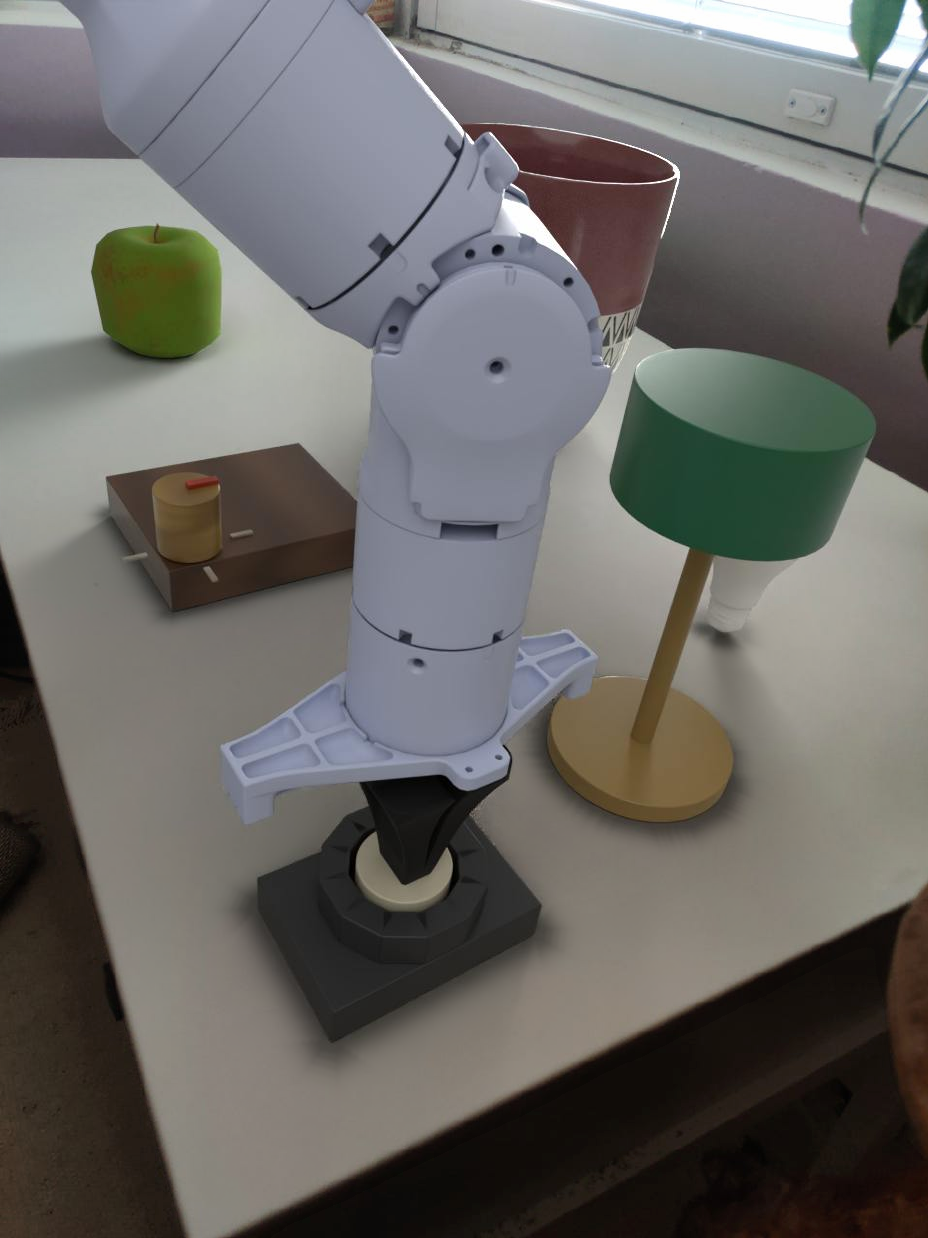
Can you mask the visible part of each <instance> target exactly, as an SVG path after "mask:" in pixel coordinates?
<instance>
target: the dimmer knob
mask: <svg viewBox="0 0 928 1238" xmlns="http://www.w3.org/2000/svg"><path fill="white" fill-rule="evenodd" d="M152 498H153V509H154V520H155V531H156V542H157V549H158V551H159V553H160V554H161V555H162V556H164V557H165V558H167V559H169V560H172V561H175V562H180V563H196V562H202V561H206V560H208V559H211V558H213V557H214V556H216V555H217V554H218V553H219V552H220V550H221V548H222V522H221V497H220V486H219V480H218V479H217V478H216V476H211V477H209V476H206V475H203V474H198V473H189V472H183V473H174V474H170V475H167V476H164V477H162V478H160V479H159V480H157V481H156V482H155V483H154V485H153V487H152Z"/></svg>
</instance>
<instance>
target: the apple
mask: <svg viewBox="0 0 928 1238" xmlns="http://www.w3.org/2000/svg"><path fill="white" fill-rule="evenodd" d="M220 259H221V258H220V254H219V249H218V248H217V247H216V246H214V245H213V243H212V242H211V241H209V239H208V238H206V237H205V236H204V235H202V233H200V232H199V231H198V230H194V229H188V228H183V227H176V226H165V225H159V223H157V222H156V224H155V225H140V226H130V227H124V228H117V229H114V230H112V231H110V232H107V233H106V234H104V236H103V237H102V238H101V239H100V240H99V241H98V242H97V243H96V244H95V249H94V255H93V259H92V265H91V268H90V269H91V270H90V275H91V279H92V283H93V284H92V285H93V288H94V294H95V298H96V304H97V309H98V312H99V317H100V323H101V327H102V331H103V332H104V333H105V334H106V335H107V336H108V337H109V338H110V339H112V340H113V341H115V342H117V343H118V344H120V345H121V346H123V347H125V348H126V349H128V350H129V351H132V352H133V353H136V354H138V355H141V356H146V357H151V358H158V359H159V358H161V359H176V358H184V357H188V356H192V355H196V354H197V353H198V352H200V351H201V350H203V349H205V348H207V347H208V346H210V345H211V344H213V343H214V342H215V341H216V339H217V338H219V336H220V335H221V325H222V323H221V321H222V288H223V287H222V286H223V284H222V282H223V280H222V279H223V269H222V264H221V260H220Z"/></svg>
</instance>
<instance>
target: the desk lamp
mask: <svg viewBox="0 0 928 1238" xmlns="http://www.w3.org/2000/svg"><path fill="white" fill-rule="evenodd" d="M876 431H877V422H876V418H875V416H874V414H873V412H872V411H871V410H870V408H869V407H868V405H866V404H865V403H864V402H863V401H862V400H861V399H860V398H859V397H858V396H856V395H855V394H853V393H852V392H851V391H849V390H847V389H846V388H845V387H843V386H841V385H839V384H837V383H835V382H834V381H832V380H830V379H828V378H826V377H823V376H821V375H819V374H818V373H816V372H812V371H811V370H808V369H806V368H802V367H800V366H797V365H795V364H791V363H788V362H785V361H782V360H778V359H774V358H771V357H766V356H762V355H759V354H758V355H757V354H753V353H748V352H743V351H736V350H730V349H729V350H728V349H721V348H720V349H719V348H708V347H707V348H704V347H701V348H700V347H693V348H692V347H691V348H690V347H689V348H677V349H669V350H664V351H660V352H659V351H658V352H656V353H653V354H651V355H649V356H647V357H645V358H644V359H642V360H640V362H639V363H638V365H637V366H636V367H635V369H634V372H633V376H632V379H631V384H630V388H629V392H628V396H627V401H626V405H625V409H624V413H623V418H622V421H621V426H620V430H619V434H618V438H617V441H616V446H615V450H614V455H613V460H612V463H611V467H610V471H609V475H608V477H609V480H608V481H609V482H608V483H609V486H610V490H611V493H612V494H613V497H614V498H615V500H616V502H617V503H618V504H619V505H620V506H621V508H622V509H623V510H624V511H625V512H626V513H627V514H629V516H631V517H632V518H633V519H635V520H636V521H637V522H638V523H640V524H641V525H643V526H644V527H646V528H647V529H649V530H651V531H652V532H654V533H656V534H658V535H660V536H661V537H663V538H666V539H668V540H671V541H672V542H674V543H676V544H679V545H681V546H684V547H687V548H689V549H688V552H687V555H686V557H685V561H684V563H683V564H684V565H683V568H682V569H681V574H680V577H679V580H678V582H677V586H676V589H675V593H674V596H673V599H672V602H671V604H670V608H669V612H668V614H667V617H666V621H665V624H664V628H663V631H662V634H661V637H660V640H659V642H658V646H657V650H656V652H655V656H654V659H653V661H652V665H651V668H650V672H649V674H648V677H647V679H646V678H640V677H635V676H626V675H625V676H624V675H615V676H614V675H610V676H601V677H596V678H593V680H592V684H591V687H590V691H589V693H588V694H585V695H583V696H580V697H578V698H575V699H568V698H566V697H565V696H563V695H562V694H561V696H560V697H559V699H558V700H557V701H556V703H555V705H554V706H553V709H552V712H551V715H550V718H549V723H548V727H547V732H546V744H547V746H546V747H547V750H548V753H549V757H550V759H551V761H552V764H553V766H554V767H555V769H556V771H557V772H558V773H559V775H560V777H562V779H563V780H564V781H565V783H566V784H567V785H568V786H570V788H571V789H573V790H574V791H575V792H576V793H578V795H580V796H581V797H583V798H584V799H585V800H587V801H588V802H590V803H592V804H593V805H595V806H597V807H599V808H601V809H603V810H605V811H607V812H610V813H611V814H614V815H617V816H621V817H623V818H627V819H631V820H635V821H641V822H649V823H671V822H680V821H684V820H689V819H691V818H694V817H697V816H698V815H701V814H703V813H704V812H706V811H707V810H709V809H710V808H712V807H713V806H714V805H715V804H716V803H717V802H718V801H719V800H720V798H721V797H722V796H723V793H724V792H725V789H726V787H727V784H728V782H729V781H730V778H731V775H732V771H733V768H734V754H733V748H732V744H731V742H730V738H729V737H728V735H727V733H726V731H725V730H724V727H722V725H721V723H720V722H719V721H718V720H717V719H716V717H715V716H714V715H713V714H712V713H711V712H709V711H708V709H706V708H705V707H704V706H703V705H701V704H700V703H699V702H697V701H696V700H694V699H693V698H692V697H690V696H689V695H687V694H685V693H684V692H681V691H680V690H678V689H675V688H673V687H672V684H673V680H674V679H675V675H676V672H677V669H678V666H679V663H680V660H681V657H682V654H683V651H684V647H685V645H686V642H687V640H688V636H689V634H690V630H691V627H692V625H693V621H694V619H695V615H696V612H697V611H698V610H697V609H698V608H699V605H700V604H699V603H700V601H701V599H702V595H703V592H704V589H705V586H706V583H707V580H708V577H709V575H710V572H711V568H712V567H713V560H714V557H715V555H717V556H721V557H727V558H733V559H738V560H748V561H765V562H771V561H785V560H792V559H797V558H799V559H800V558H804V557H808V556H809V555H812V554H815V553H816V552H818V551H819V550H821V549H822V548H824V547H825V546H826V545H827V544H828V542H830V540H831V538H832V536H833V534H834V532H835V530H836V527H837V524H838V522H839V520H840V517H841V515H842V513H843V510H844V507H845V506H846V503H847V501H848V498H849V496H850V494H851V491H852V489H853V487H854V484H855V483H856V479H857V477H858V475H859V473H860V470H861V468H862V466H863V463H864V460H865V458H866V456H867V454H868V451H869V449H870V446H871V444H872V443H873V442H872V441H873V439H874V437H875V434H876Z"/></svg>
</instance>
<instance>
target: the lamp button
mask: <svg viewBox="0 0 928 1238" xmlns="http://www.w3.org/2000/svg"><path fill="white" fill-rule="evenodd" d="M452 871H453V863H452V858H451V854H450V852H449V850H448V848H446V849H445V851H444V853H443V854H442V856H441V858H440V860H439V861H438V863H437V865H436V866H435V868H434V869H433V871H432V872H431V874H429V875H427V876H425V877H422V878H420V879H418V880H416V881H414V882H412V883H410V884H407V885H402V884H401V883H400V881H399V880H398V878H397V877H396V876H395V874H394V873H393V871H392V870H391V868H390V867H389V865H388V864H387V862H386V861H385V860H384V858H383V857H382V855H381V854H380V850H379V844H378V838H377V833H376V832H374V833H373V834H371V835H370V836H369V837H368V838H367V839H366V840H365V841H364V842H363V843H362V845H361V846H360V848H359V850H358V853H357V857H356V866H355V879H354V884H355V886H356V887H357V889H358V890H359V892H360V893H361V895H362V896H363V898H364V899H366V900H368V901H370V902H372V903H374V904H376V905H378V906H380V907H382V908H384V909H386V910H388V911H395V912H422V911H424V910H426V909H428V908H430V907H432V906H434V905H436V904H438V903H440V902H442V901H444V900H446V899H447V897H448V893H449V887H450V882H451V876H452Z"/></svg>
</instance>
